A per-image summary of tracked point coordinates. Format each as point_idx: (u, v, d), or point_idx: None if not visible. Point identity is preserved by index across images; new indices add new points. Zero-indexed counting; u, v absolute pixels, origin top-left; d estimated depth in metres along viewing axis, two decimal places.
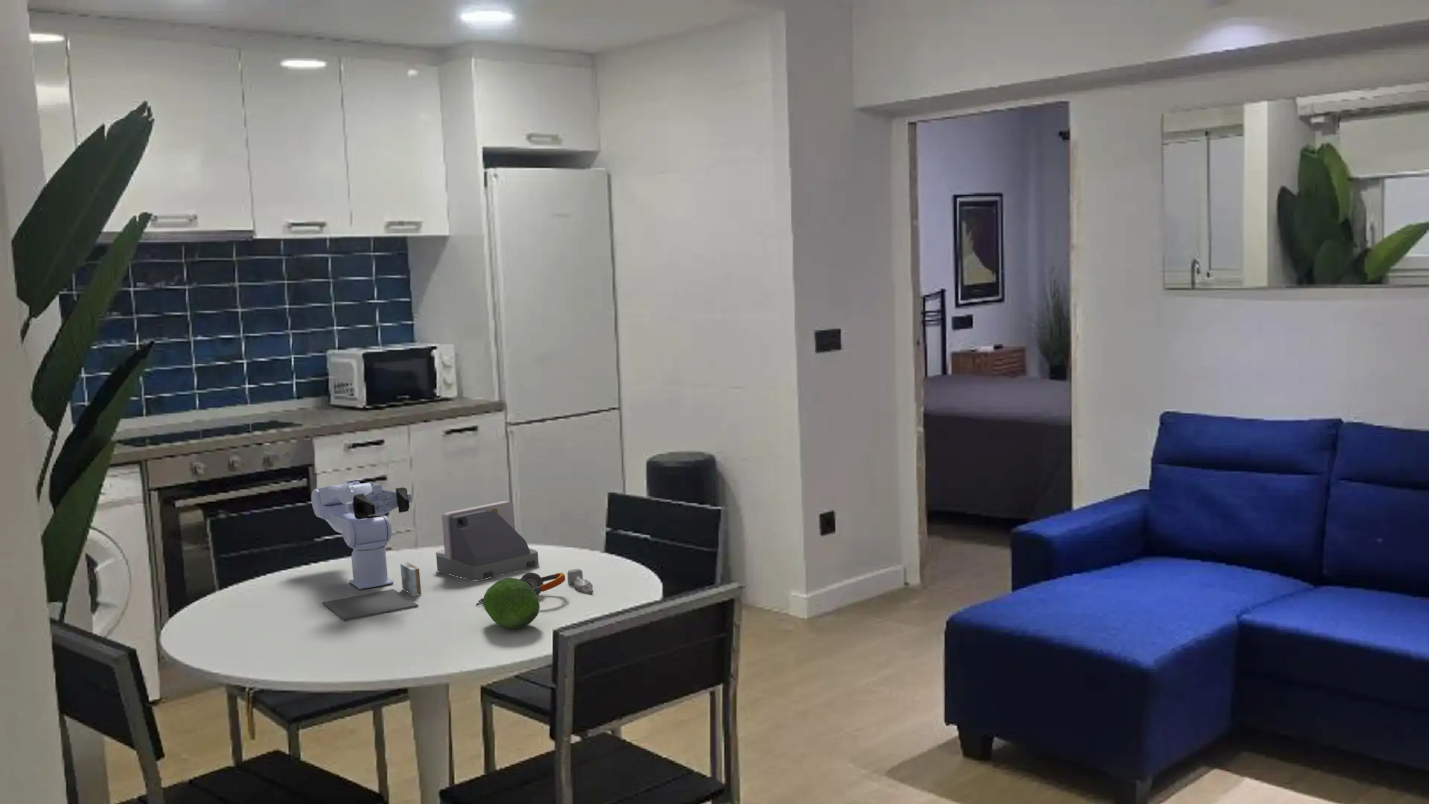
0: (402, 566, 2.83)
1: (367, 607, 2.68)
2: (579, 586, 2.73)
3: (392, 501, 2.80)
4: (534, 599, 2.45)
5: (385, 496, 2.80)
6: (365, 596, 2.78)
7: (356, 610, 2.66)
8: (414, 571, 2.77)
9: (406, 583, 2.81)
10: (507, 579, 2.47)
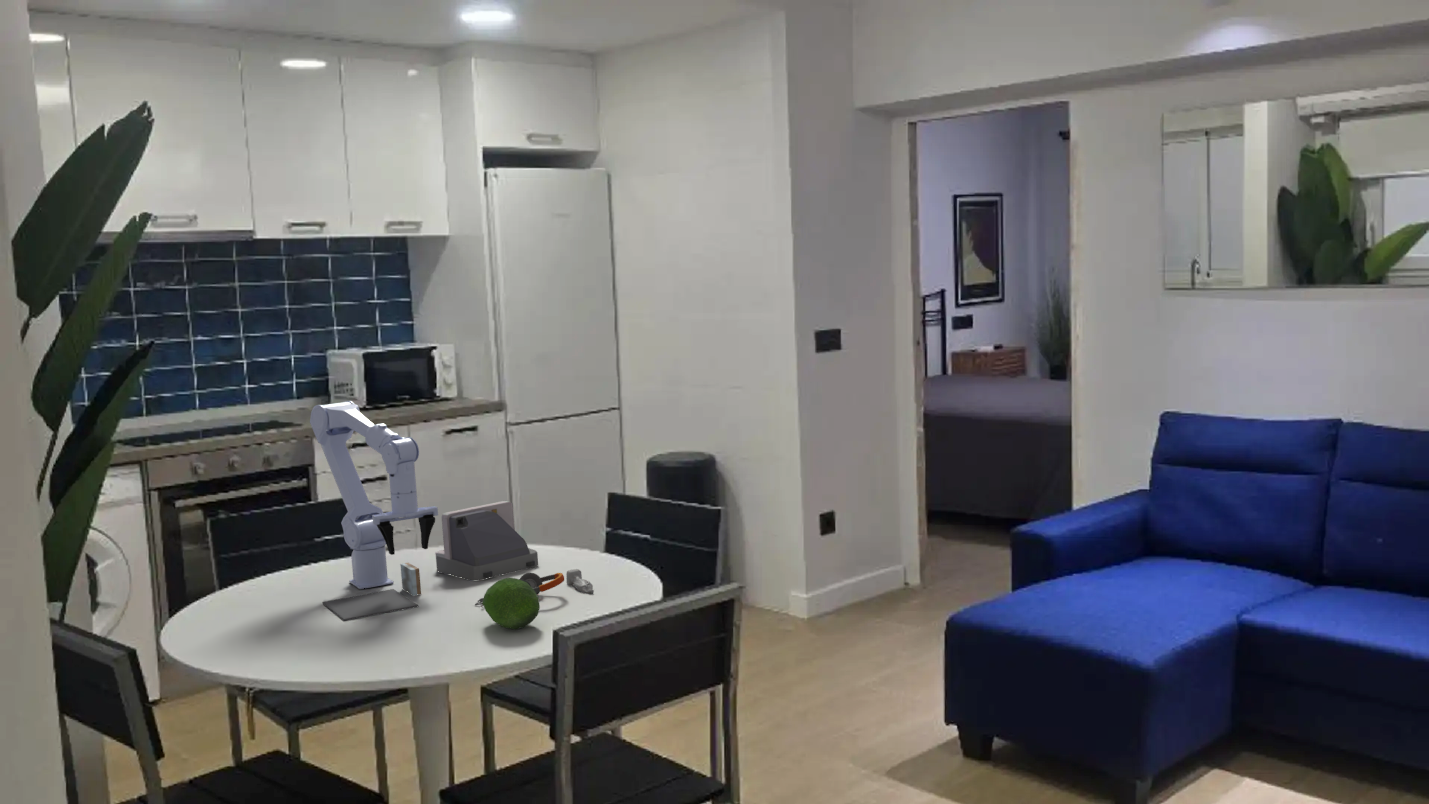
0: (402, 566, 2.83)
1: (367, 607, 2.68)
2: (579, 586, 2.73)
3: None
4: (534, 599, 2.45)
5: None
6: (365, 596, 2.78)
7: (356, 610, 2.66)
8: (414, 571, 2.77)
9: (406, 583, 2.81)
10: (507, 579, 2.47)
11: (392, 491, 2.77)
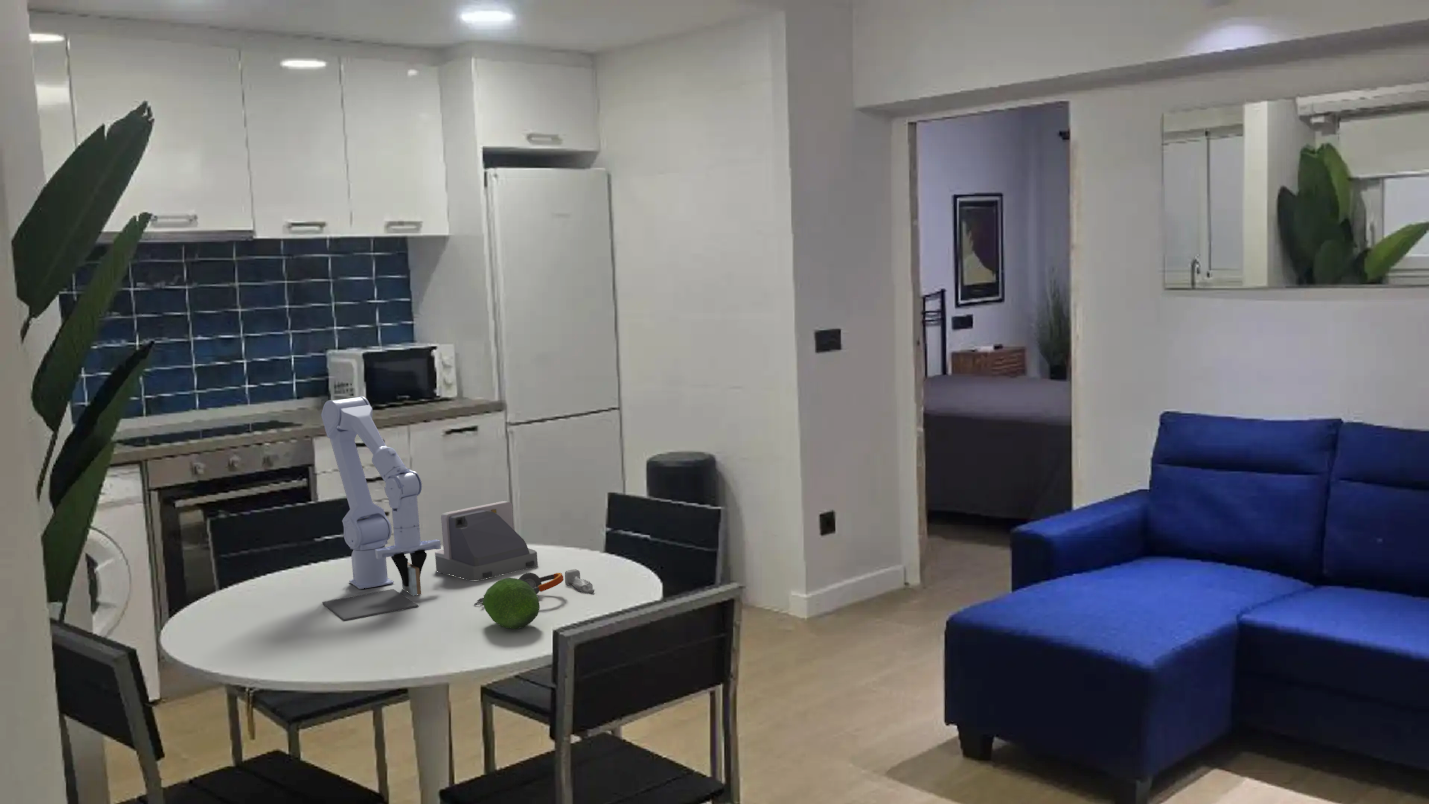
0: None
1: (367, 607, 2.68)
2: (579, 586, 2.73)
3: None
4: (534, 599, 2.45)
5: None
6: (365, 596, 2.78)
7: (356, 610, 2.66)
8: (414, 571, 2.77)
9: None
10: (507, 579, 2.47)
11: (395, 525, 2.78)
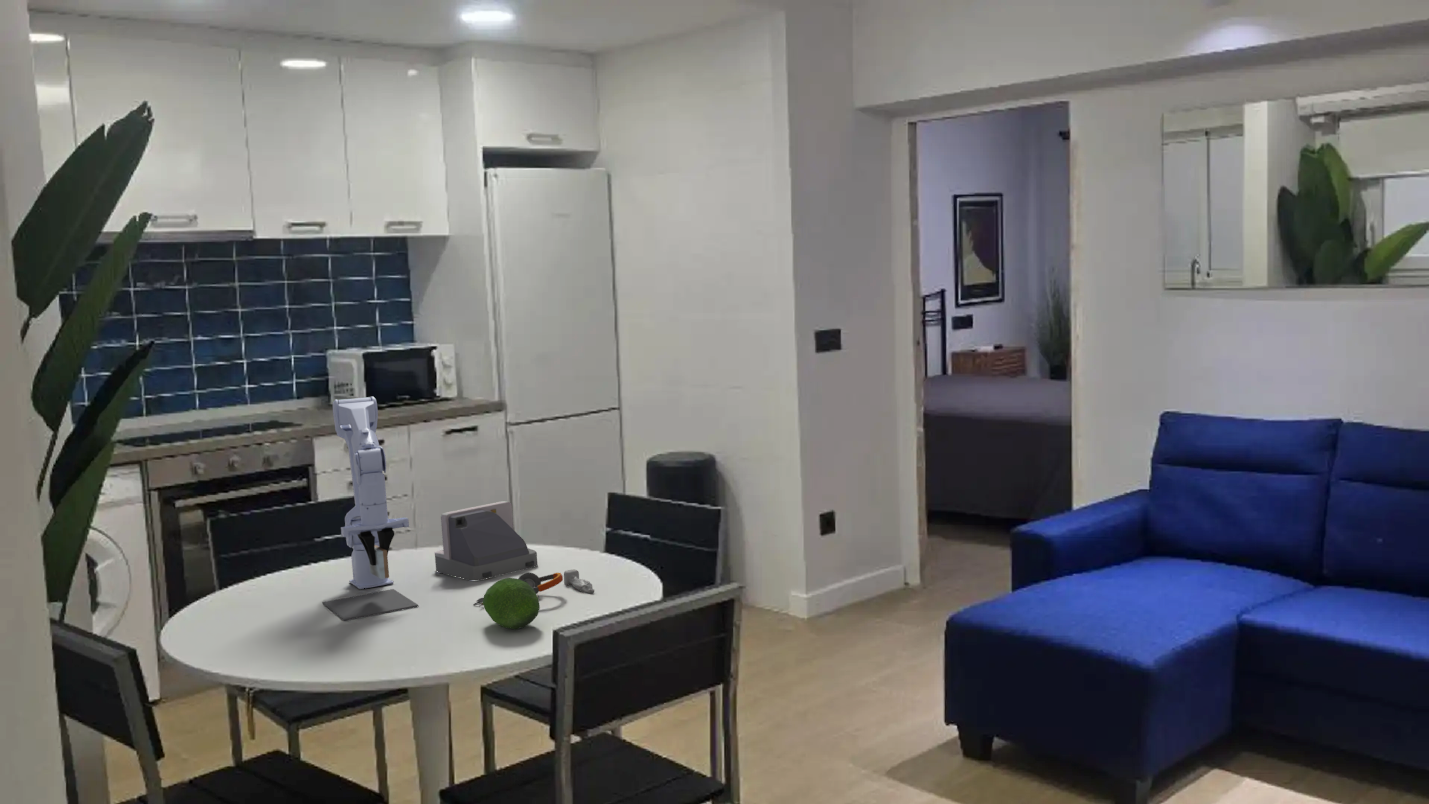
0: None
1: (367, 607, 2.68)
2: (579, 586, 2.73)
3: None
4: (534, 599, 2.45)
5: None
6: (365, 596, 2.78)
7: (356, 610, 2.66)
8: (382, 553, 2.70)
9: (373, 566, 2.74)
10: (507, 579, 2.47)
11: (359, 501, 2.71)
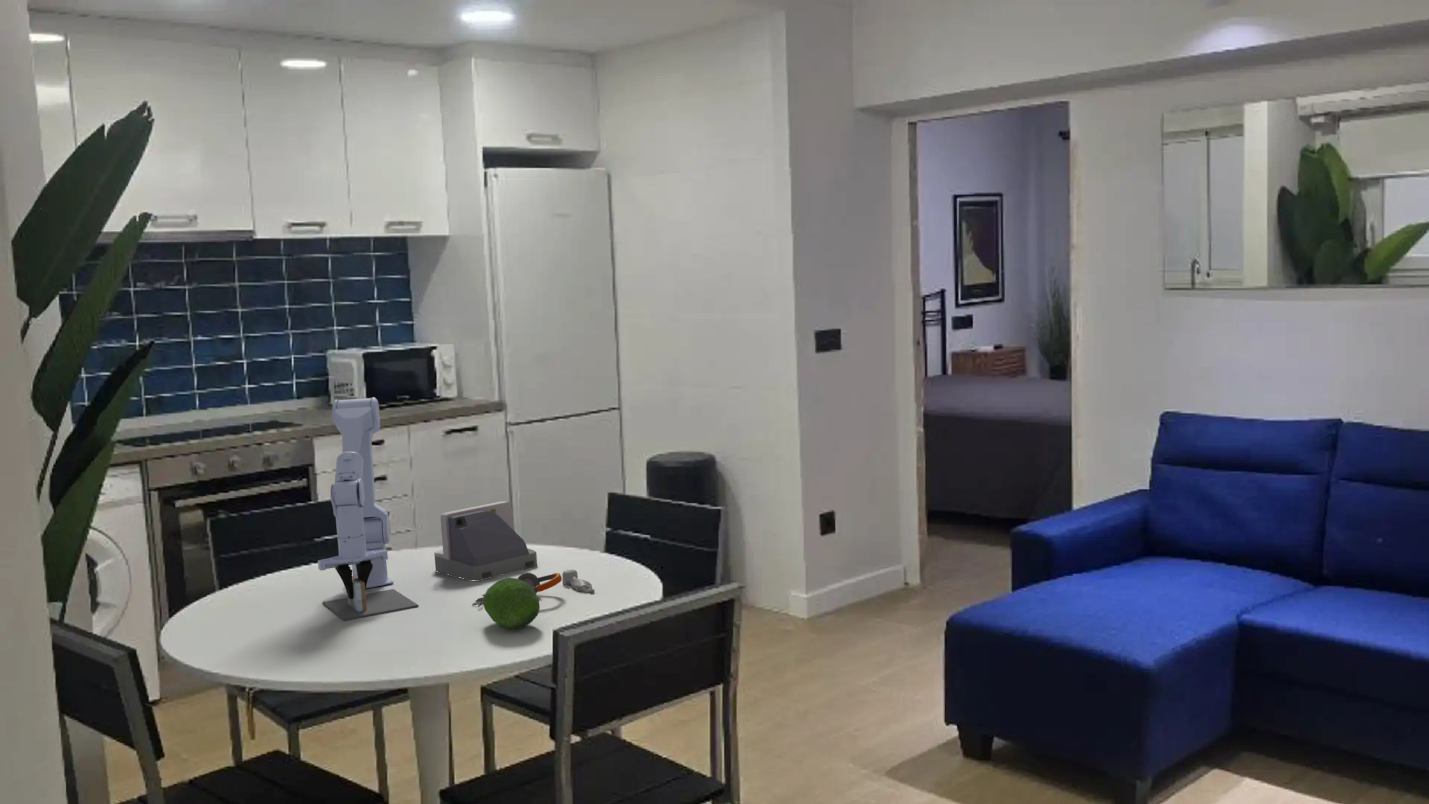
0: None
1: (367, 607, 2.68)
2: (579, 586, 2.73)
3: None
4: (534, 599, 2.45)
5: None
6: None
7: (356, 610, 2.66)
8: (359, 585, 2.65)
9: None
10: (507, 579, 2.47)
11: None
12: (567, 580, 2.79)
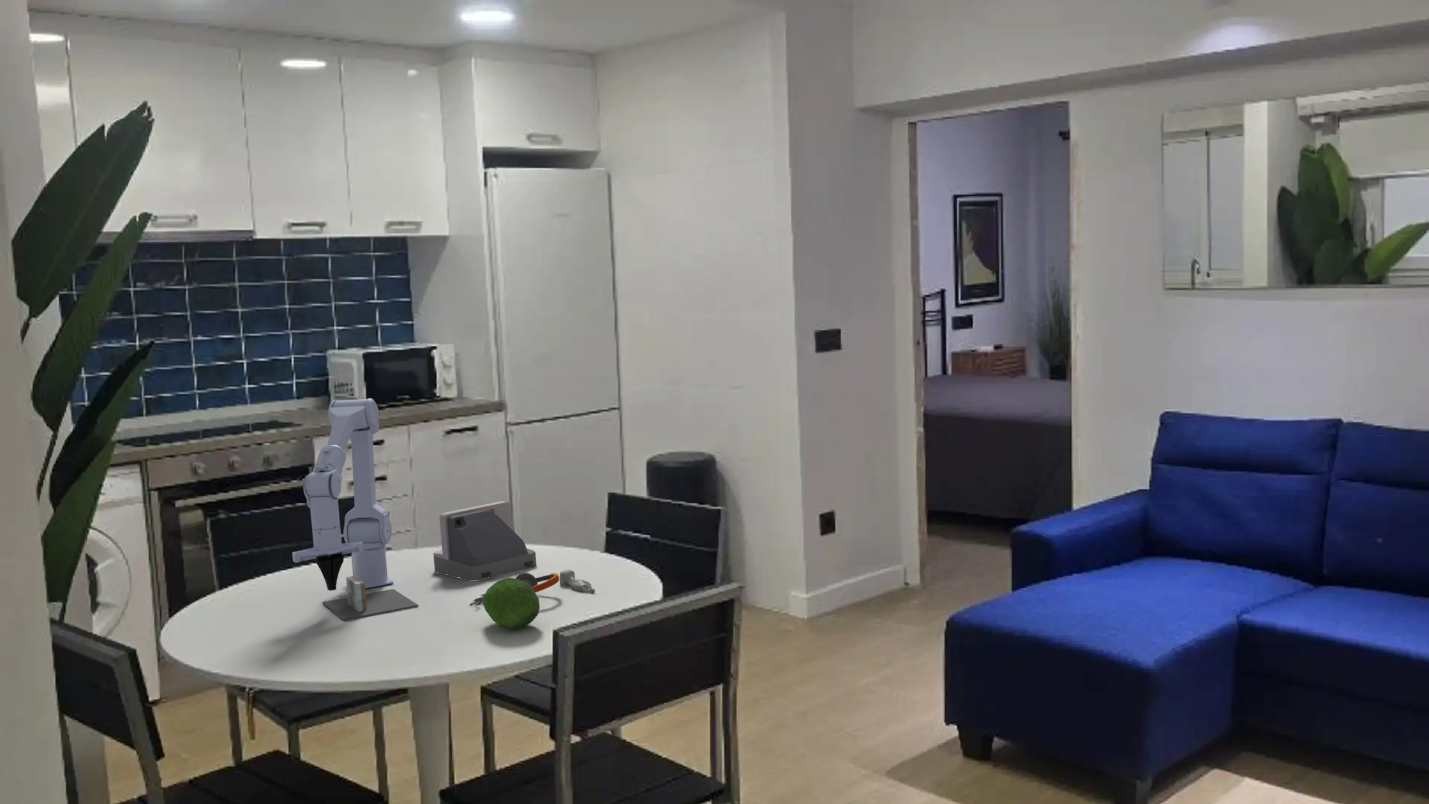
0: (348, 580, 2.70)
1: (367, 607, 2.68)
2: (578, 586, 2.73)
3: (341, 553, 2.67)
4: (534, 599, 2.45)
5: None
6: None
7: (356, 610, 2.66)
8: (359, 585, 2.65)
9: (351, 598, 2.69)
10: (507, 579, 2.47)
11: None
12: (565, 580, 2.79)
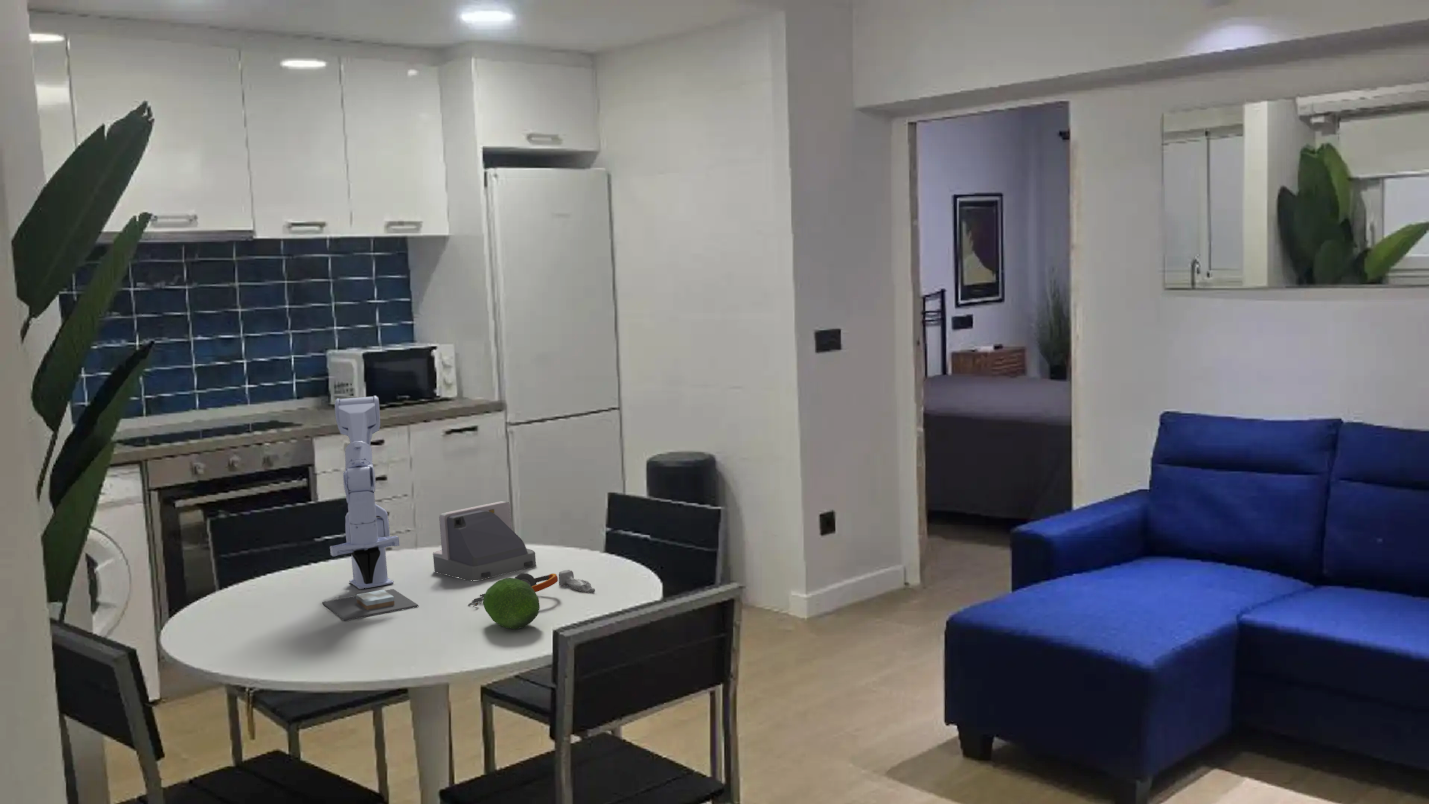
0: (383, 591, 2.74)
1: None
2: (578, 586, 2.73)
3: None
4: (534, 599, 2.45)
5: None
6: None
7: (356, 610, 2.66)
8: (392, 600, 2.69)
9: (369, 595, 2.71)
10: (507, 579, 2.47)
11: (349, 520, 2.68)
12: (564, 580, 2.79)
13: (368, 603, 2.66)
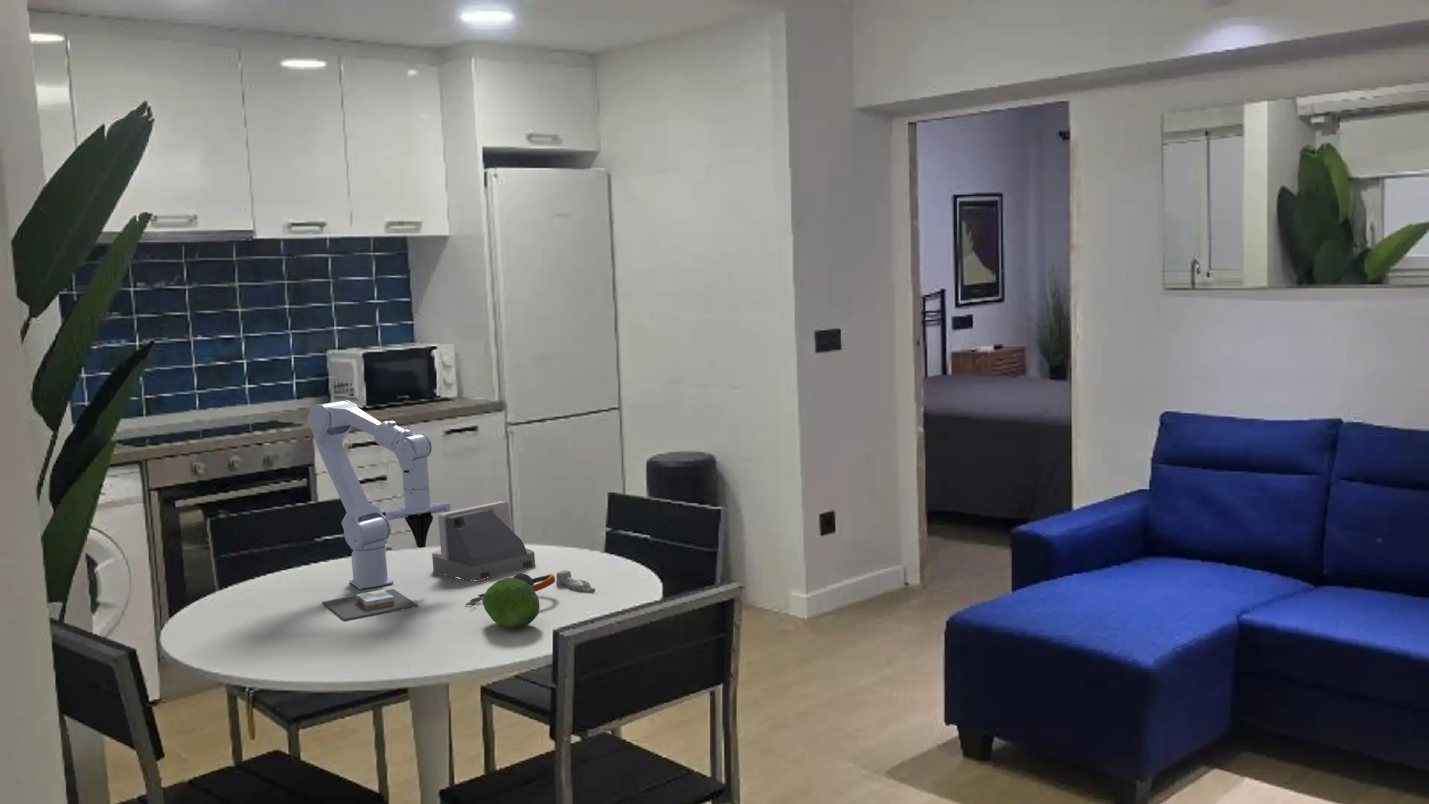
0: (383, 591, 2.74)
1: None
2: (578, 586, 2.74)
3: None
4: (534, 599, 2.45)
5: None
6: None
7: (356, 610, 2.66)
8: (392, 600, 2.69)
9: (369, 595, 2.71)
10: (507, 579, 2.47)
11: (406, 487, 2.78)
12: (562, 581, 2.79)
13: (368, 603, 2.66)
